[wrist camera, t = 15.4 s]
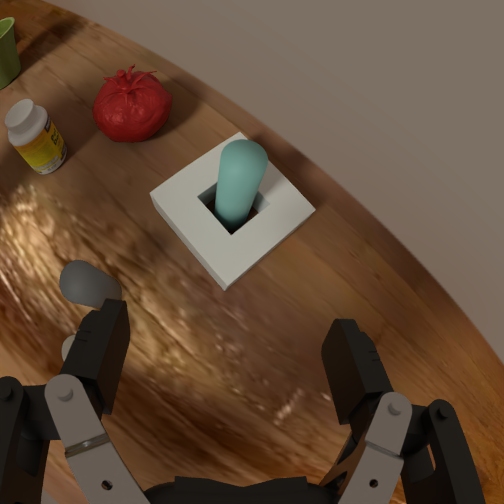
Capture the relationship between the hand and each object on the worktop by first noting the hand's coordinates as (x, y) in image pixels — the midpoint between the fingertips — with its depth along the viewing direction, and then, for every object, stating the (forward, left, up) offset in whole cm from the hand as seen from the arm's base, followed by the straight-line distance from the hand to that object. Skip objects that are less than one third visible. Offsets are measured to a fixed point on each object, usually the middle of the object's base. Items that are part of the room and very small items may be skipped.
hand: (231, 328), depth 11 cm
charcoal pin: (-7, +10, -20) cm, 23 cm away
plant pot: (-5, +58, -20) cm, 62 cm away
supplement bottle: (-4, +30, -20) cm, 36 cm away
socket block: (+9, +8, -20) cm, 24 cm away
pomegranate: (+8, +26, -20) cm, 34 cm away
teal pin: (+9, +8, -20) cm, 23 cm away
